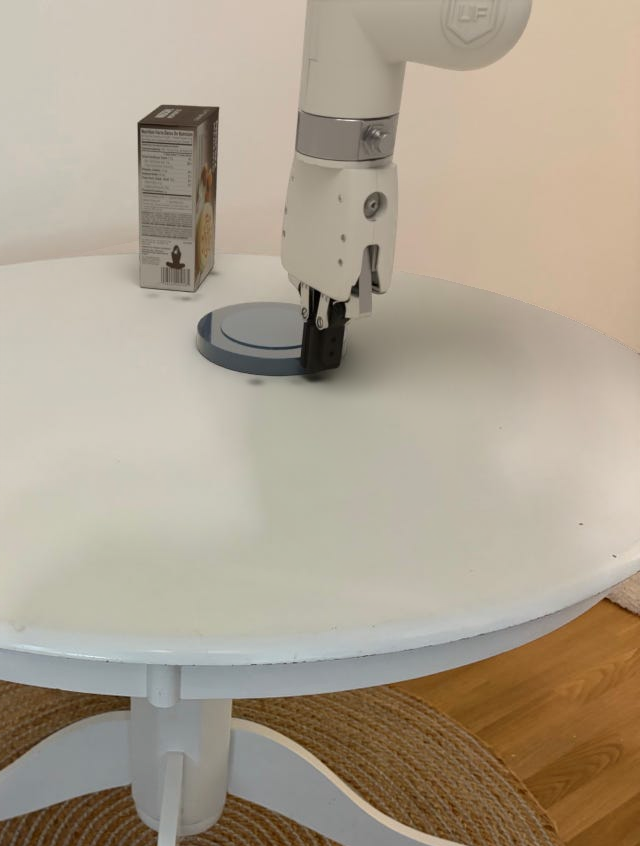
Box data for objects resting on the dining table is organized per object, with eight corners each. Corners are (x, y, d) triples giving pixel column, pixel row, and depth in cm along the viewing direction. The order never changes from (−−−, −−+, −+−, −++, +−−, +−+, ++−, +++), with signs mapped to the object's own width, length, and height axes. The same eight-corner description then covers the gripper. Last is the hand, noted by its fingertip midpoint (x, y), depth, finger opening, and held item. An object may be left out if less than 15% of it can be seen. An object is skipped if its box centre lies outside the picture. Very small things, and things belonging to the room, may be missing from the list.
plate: (371, 338, 94) (374, 320, 93) (300, 389, 85) (302, 369, 84) (245, 307, 100) (246, 290, 99) (167, 351, 91) (167, 333, 90)
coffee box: (160, 261, 112) (160, 102, 102) (215, 266, 110) (221, 105, 100) (137, 288, 105) (135, 120, 95) (196, 293, 104) (200, 124, 94)
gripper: (448, 153, 71) (406, 392, 82) (331, 114, 81) (309, 331, 93) (362, 163, 68) (331, 409, 80) (252, 122, 79) (239, 344, 90)
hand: (319, 366), depth 86 cm, fingers closed
